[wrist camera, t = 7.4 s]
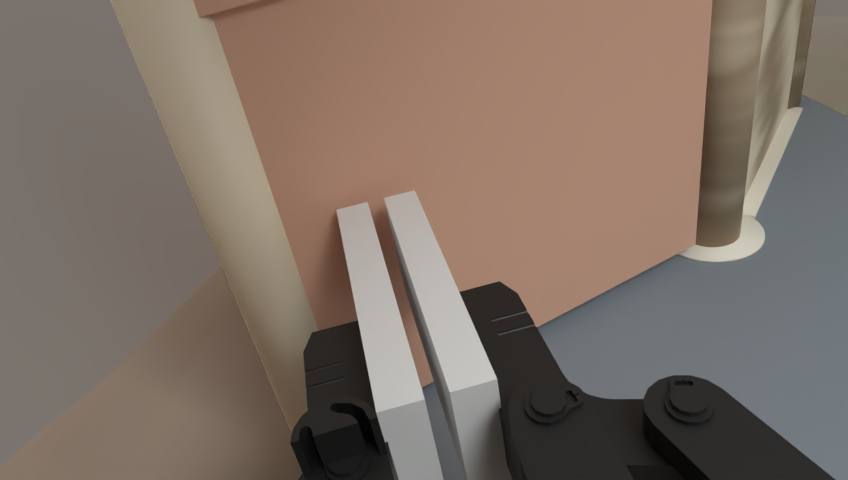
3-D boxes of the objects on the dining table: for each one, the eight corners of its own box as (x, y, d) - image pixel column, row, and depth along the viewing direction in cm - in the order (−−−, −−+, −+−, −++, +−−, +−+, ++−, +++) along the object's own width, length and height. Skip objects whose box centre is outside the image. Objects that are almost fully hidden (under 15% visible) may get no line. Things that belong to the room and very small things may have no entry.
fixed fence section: (732, 254, 23) (779, -184, 16) (673, 243, 24) (693, -171, 17) (803, 96, 32) (853, -227, 25) (758, 93, 33) (794, -217, 26)
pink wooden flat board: (663, 227, 24) (677, -174, 17) (702, 247, 23) (735, -179, 16) (283, 417, 19) (96, -30, 12) (303, 459, 18) (103, -20, 11)
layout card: (790, 97, 33) (791, 87, 33) (1447, 424, 14) (1462, 408, 14) (344, 206, 31) (341, 197, 31) (441, 732, 13) (438, 721, 13)
